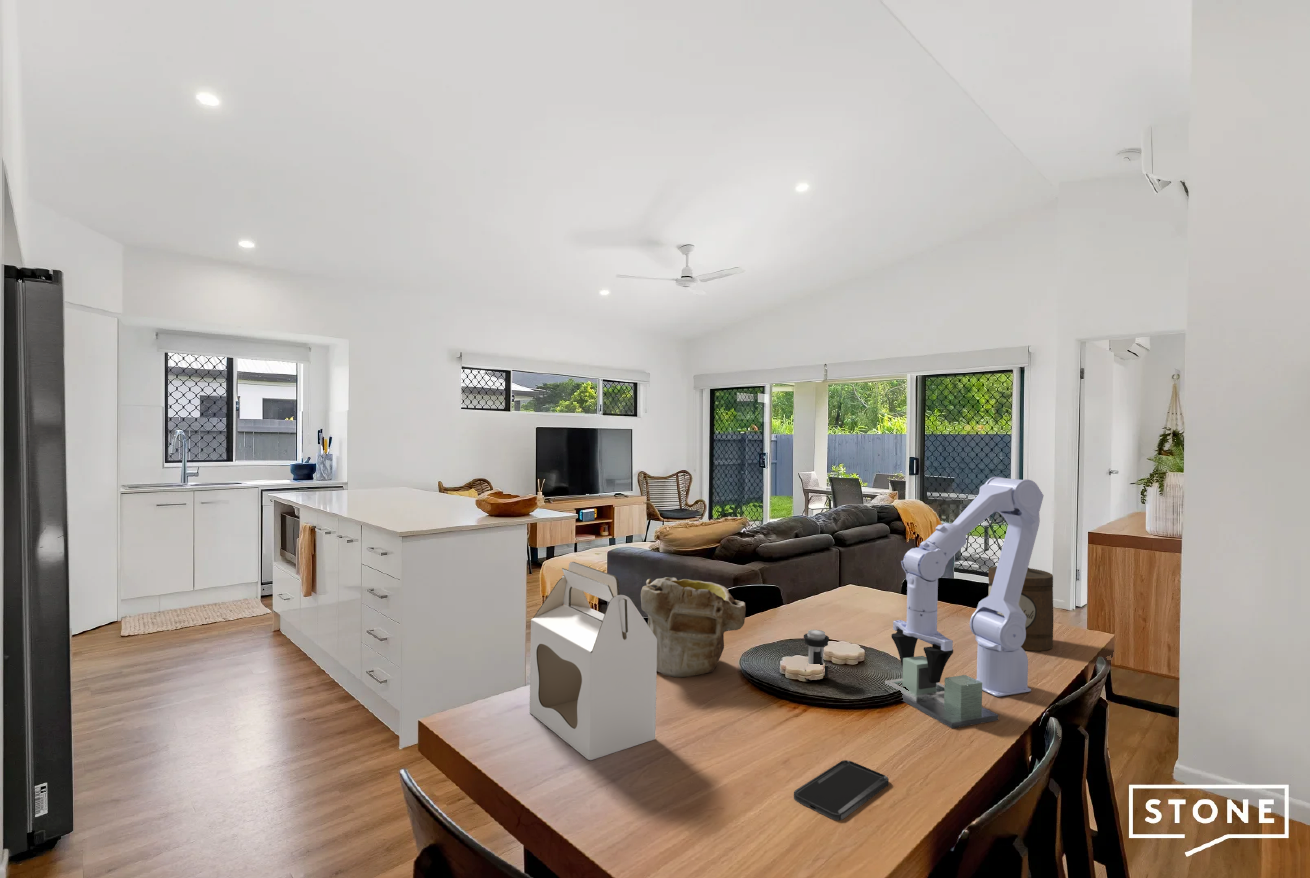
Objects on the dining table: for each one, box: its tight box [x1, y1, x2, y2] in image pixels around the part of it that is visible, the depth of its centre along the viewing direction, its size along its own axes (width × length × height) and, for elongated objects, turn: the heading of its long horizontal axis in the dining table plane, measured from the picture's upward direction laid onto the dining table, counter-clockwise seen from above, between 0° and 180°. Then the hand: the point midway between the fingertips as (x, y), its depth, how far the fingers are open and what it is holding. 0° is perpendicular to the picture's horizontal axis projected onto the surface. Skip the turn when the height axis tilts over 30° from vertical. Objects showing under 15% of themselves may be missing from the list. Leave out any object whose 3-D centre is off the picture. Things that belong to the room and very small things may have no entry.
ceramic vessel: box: [640, 576, 747, 678], centre depth 146 cm, size 23×24×25 cm
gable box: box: [529, 561, 658, 761], centre depth 116 cm, size 22×13×28 cm, turn 36°
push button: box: [803, 629, 830, 677], centre depth 140 cm, size 7×5×10 cm
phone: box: [793, 759, 890, 821], centre depth 97 cm, size 8×1×15 cm
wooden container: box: [987, 566, 1054, 652], centre depth 169 cm, size 15×15×22 cm
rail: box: [885, 674, 999, 729], centre depth 129 cm, size 20×11×7 cm, turn 20°
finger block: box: [902, 655, 936, 695], centre depth 133 cm, size 4×5×6 cm
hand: (920, 675), depth 133 cm, fingers open, 7 cm apart
